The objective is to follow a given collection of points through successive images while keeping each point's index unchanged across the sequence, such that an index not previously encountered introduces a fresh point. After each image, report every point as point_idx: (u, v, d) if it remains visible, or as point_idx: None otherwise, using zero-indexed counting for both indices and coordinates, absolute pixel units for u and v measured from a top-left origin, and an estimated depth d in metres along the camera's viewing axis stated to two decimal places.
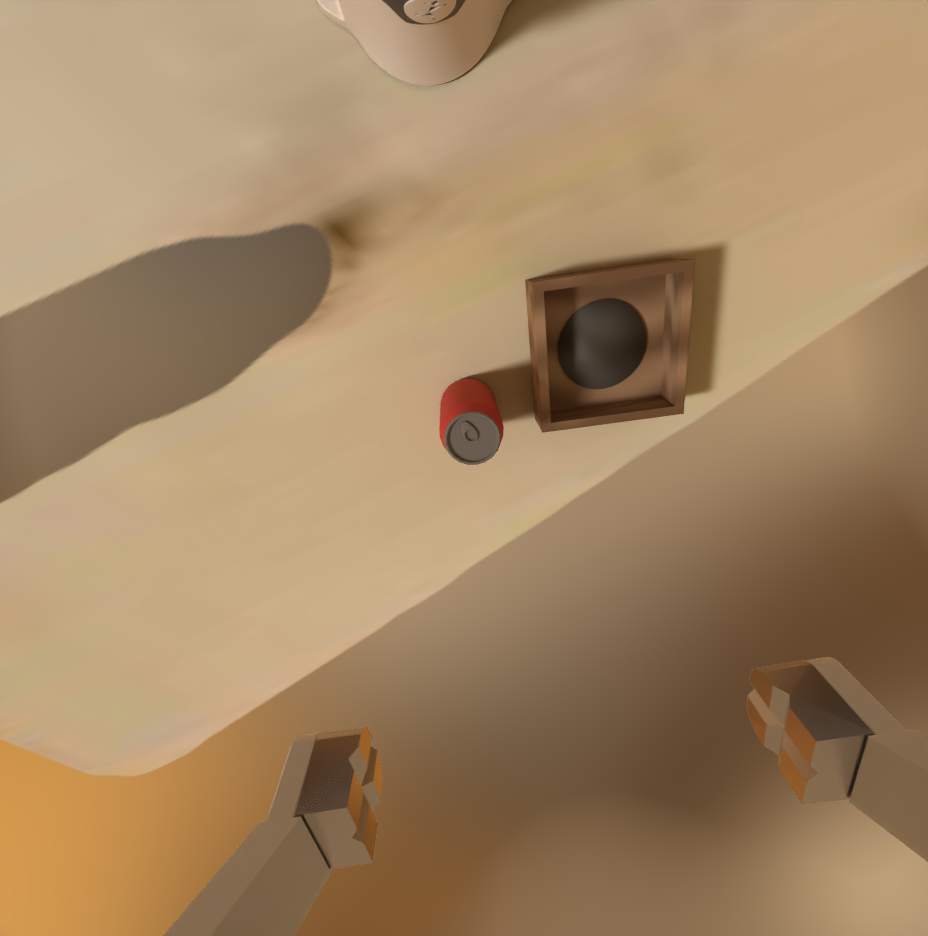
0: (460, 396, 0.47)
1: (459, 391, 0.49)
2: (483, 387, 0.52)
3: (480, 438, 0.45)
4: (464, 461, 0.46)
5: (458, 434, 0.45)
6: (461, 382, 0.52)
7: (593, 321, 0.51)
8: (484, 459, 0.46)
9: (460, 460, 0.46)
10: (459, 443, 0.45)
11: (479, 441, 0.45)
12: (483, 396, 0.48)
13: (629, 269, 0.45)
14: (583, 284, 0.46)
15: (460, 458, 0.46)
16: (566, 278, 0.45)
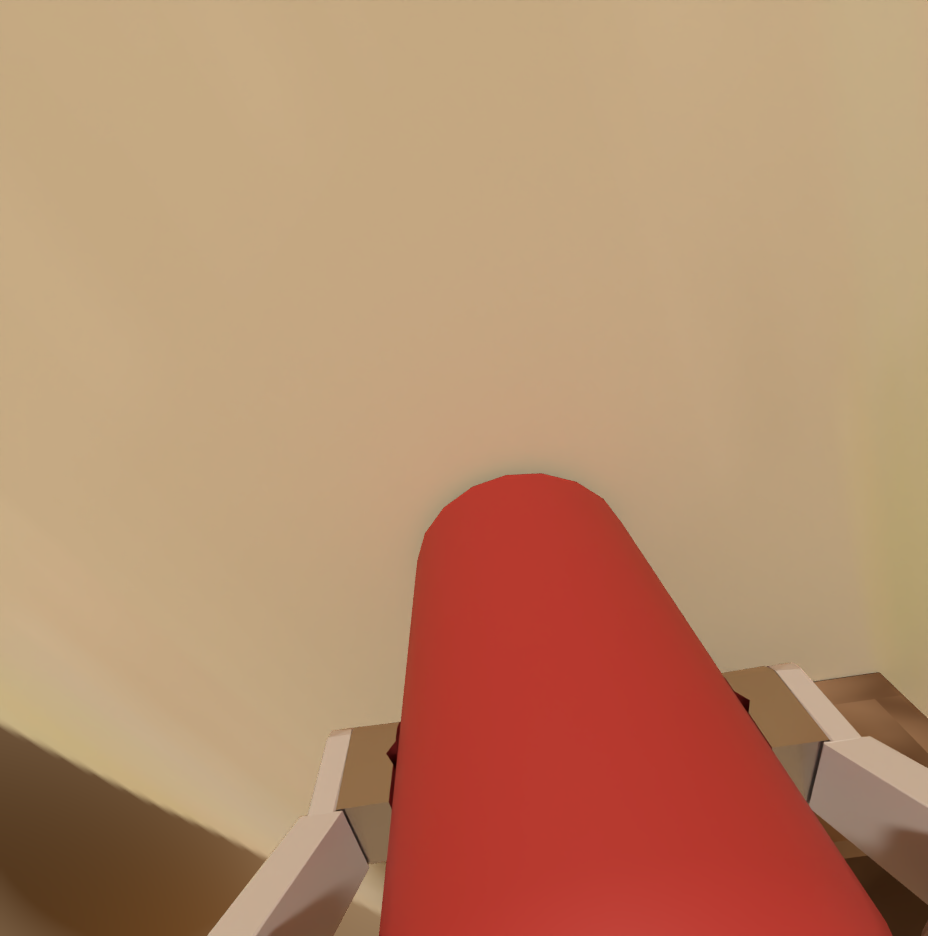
0: None
1: None
2: None
3: None
4: None
5: None
6: None
7: None
8: None
9: None
10: None
11: None
12: None
13: None
14: None
15: None
16: None
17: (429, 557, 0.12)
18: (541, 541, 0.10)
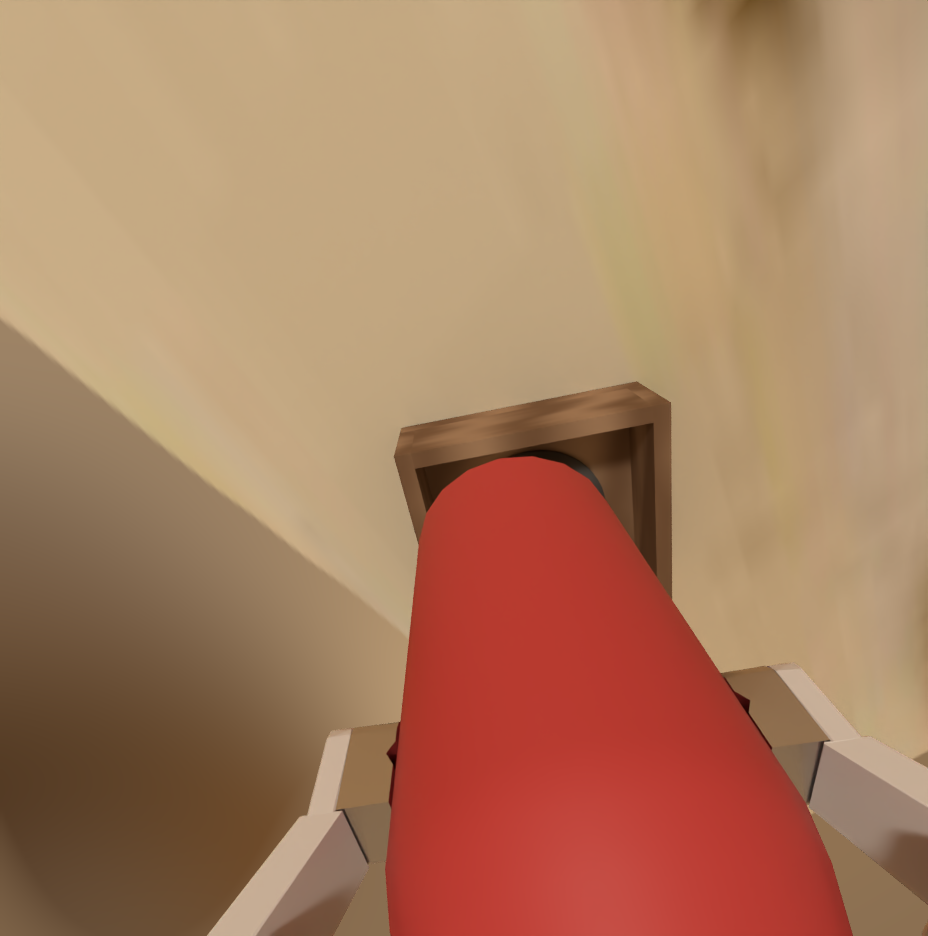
0: None
1: None
2: None
3: None
4: None
5: None
6: None
7: None
8: None
9: None
10: None
11: None
12: None
13: (670, 543, 0.30)
14: (656, 483, 0.28)
15: None
16: (669, 456, 0.27)
17: (430, 532, 0.13)
18: (529, 511, 0.11)
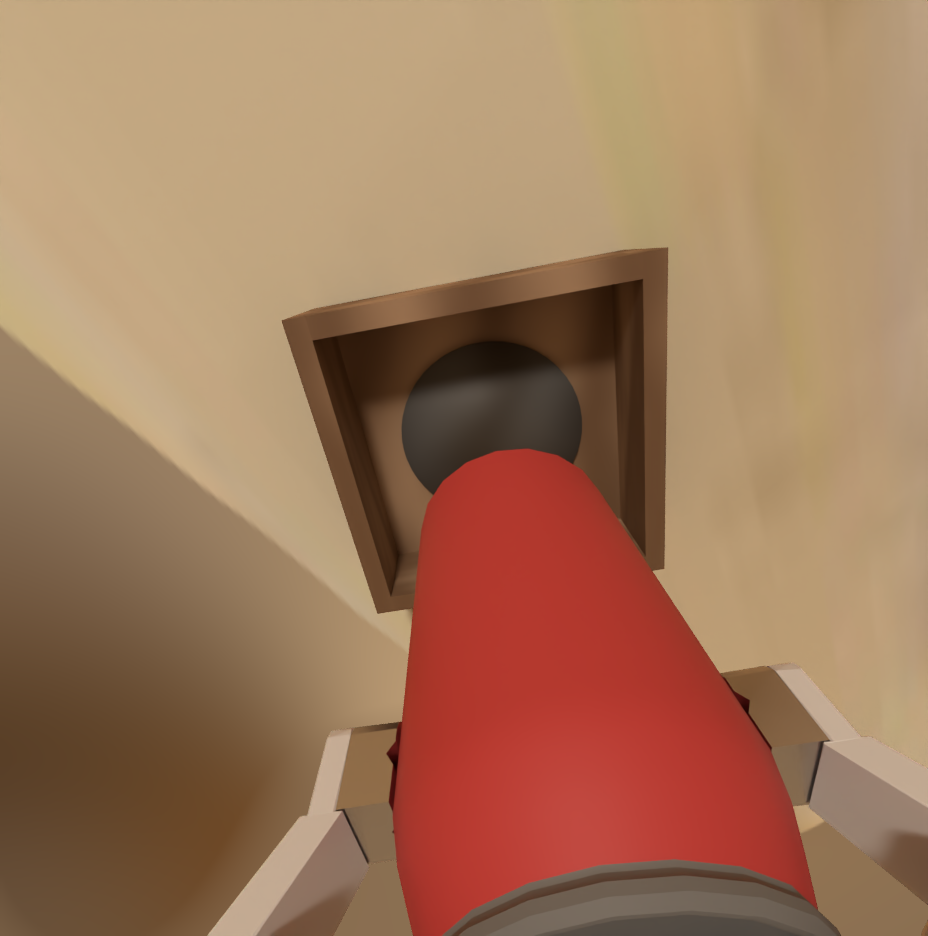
0: None
1: None
2: None
3: None
4: None
5: (665, 929, 0.06)
6: None
7: (541, 408, 0.25)
8: None
9: None
10: None
11: None
12: None
13: (663, 463, 0.22)
14: (646, 373, 0.20)
15: None
16: (664, 332, 0.20)
17: (430, 521, 0.14)
18: (523, 498, 0.12)
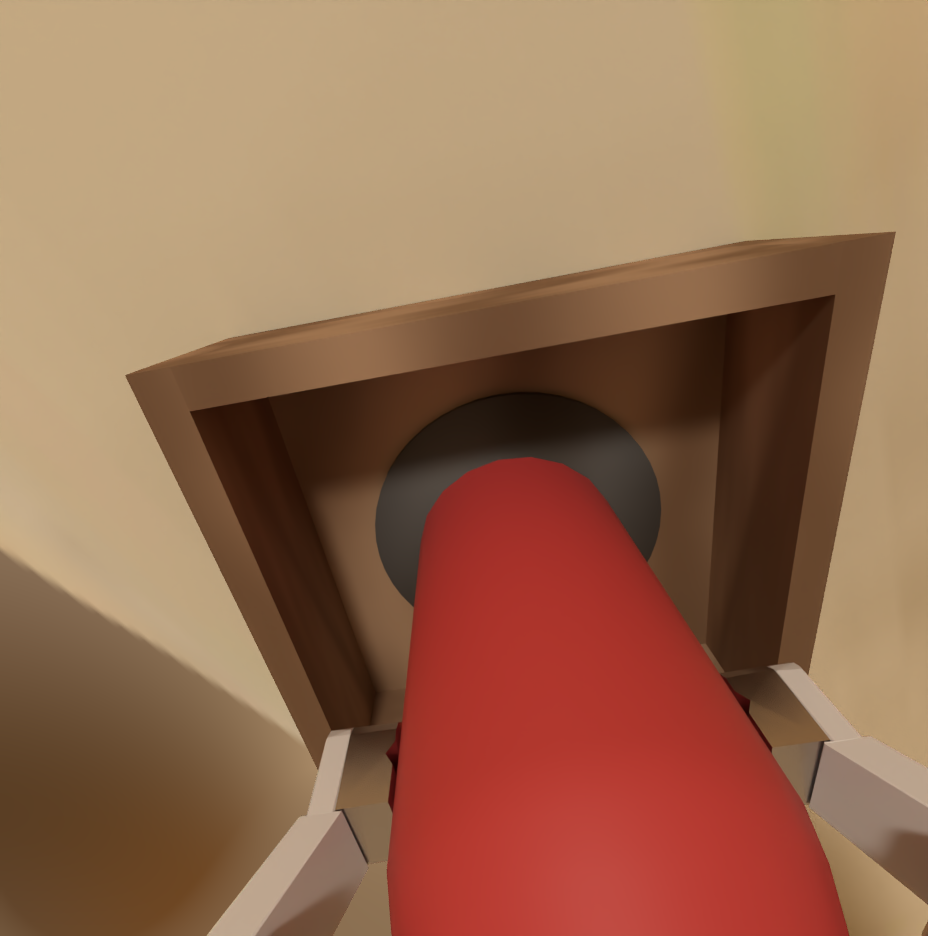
0: None
1: None
2: None
3: None
4: None
5: None
6: None
7: None
8: None
9: None
10: None
11: None
12: None
13: (818, 605, 0.13)
14: (812, 465, 0.11)
15: None
16: (858, 394, 0.10)
17: (430, 535, 0.13)
18: (526, 513, 0.11)
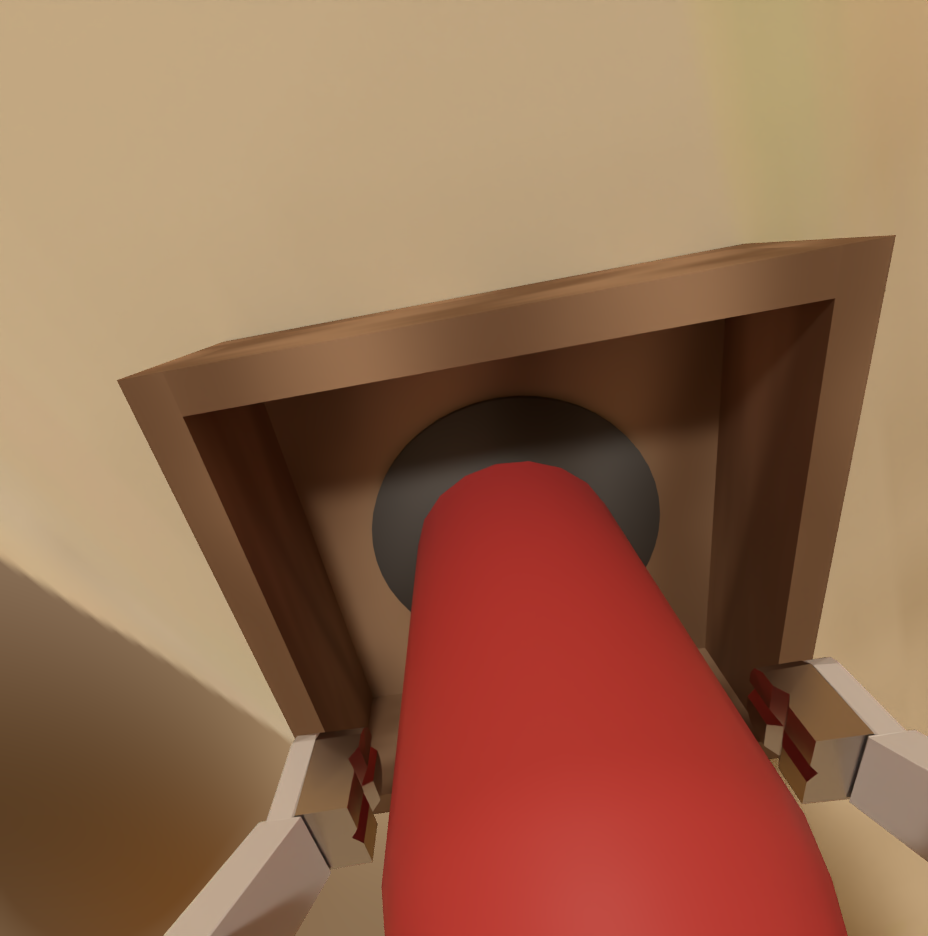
0: None
1: None
2: None
3: None
4: None
5: None
6: None
7: None
8: None
9: None
10: None
11: None
12: None
13: (818, 611, 0.13)
14: (812, 470, 0.11)
15: None
16: (859, 398, 0.10)
17: (427, 540, 0.13)
18: (525, 519, 0.11)
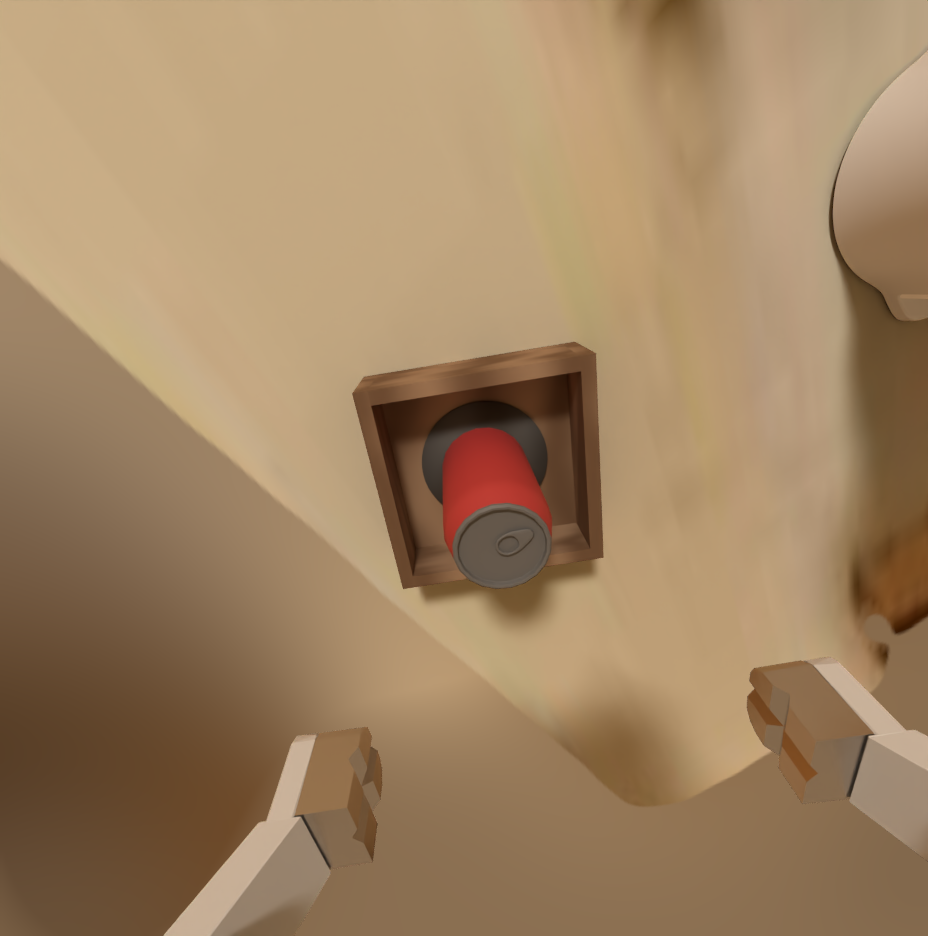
0: None
1: None
2: None
3: (501, 558, 0.26)
4: (458, 539, 0.25)
5: (508, 524, 0.25)
6: None
7: None
8: (463, 569, 0.26)
9: (460, 533, 0.25)
10: (491, 527, 0.25)
11: (495, 557, 0.26)
12: None
13: (599, 485, 0.33)
14: (585, 428, 0.32)
15: (462, 531, 0.25)
16: (596, 402, 0.31)
17: (448, 457, 0.33)
18: (484, 443, 0.31)
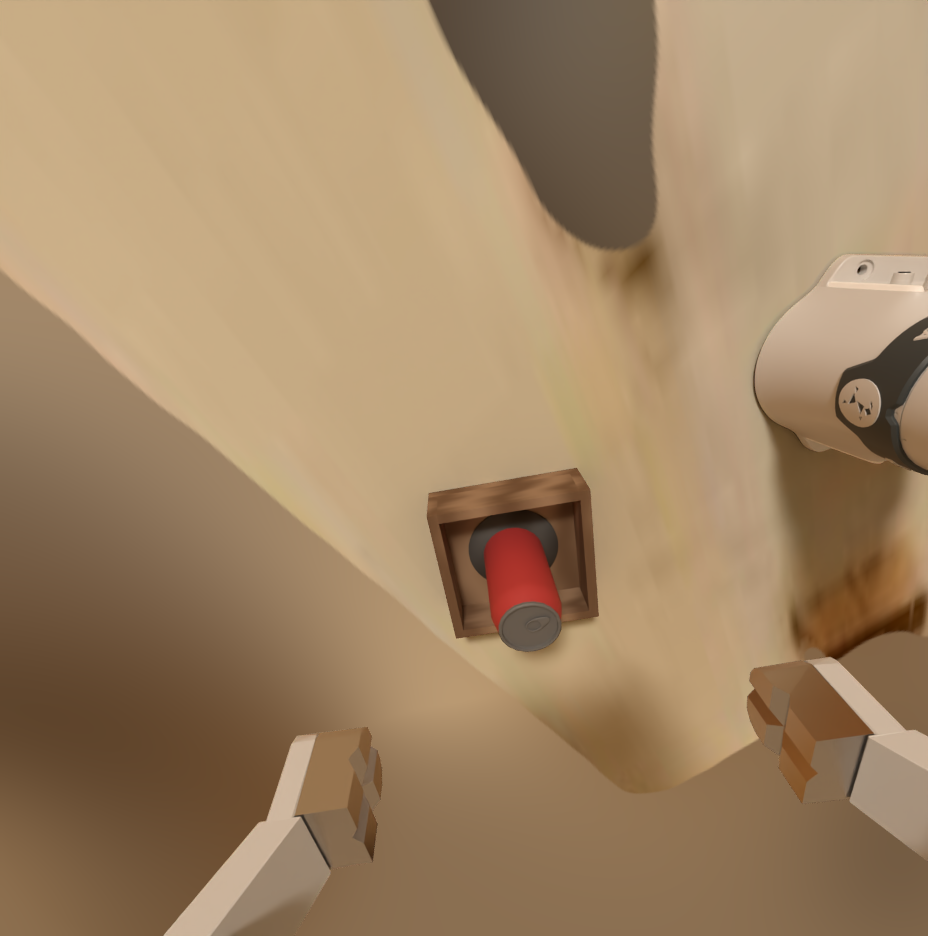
0: (554, 584, 0.44)
1: (550, 570, 0.45)
2: None
3: (529, 633, 0.41)
4: (502, 623, 0.40)
5: (534, 614, 0.40)
6: (544, 552, 0.49)
7: None
8: (505, 640, 0.41)
9: (504, 620, 0.40)
10: (522, 615, 0.40)
11: (525, 632, 0.41)
12: None
13: (594, 569, 0.48)
14: (584, 534, 0.46)
15: (504, 618, 0.40)
16: (591, 519, 0.45)
17: (489, 550, 0.48)
18: (515, 546, 0.46)
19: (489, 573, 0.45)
